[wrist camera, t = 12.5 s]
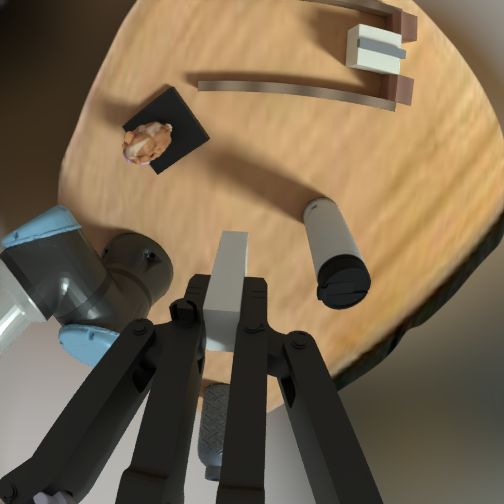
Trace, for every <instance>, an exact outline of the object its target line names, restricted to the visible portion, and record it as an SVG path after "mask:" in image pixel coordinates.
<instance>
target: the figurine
mask: <svg viewBox="0 0 504 504" xmlns="http://www.w3.org/2000/svg"><path fill="white" fill-rule="evenodd" d="M122 127H123V128H124V130H125V131H126V132H127V133H126V134H125V136H124V143H123V145H122V148H123V149H124V150H123V156H124V157H125V159H126V160H127V161H128V162H129V163H131V162H133V163H135V164H140V165H144V164H148V163H149V164H150V165H151V167H152V168H153V169H154V171H155V172H156V173H157V175H158V174H160V173H161V172H163V171H164V170H165V169H167V168H168V167H169V166H171V165H172V164H174V163H175V162H177V161H178V160H180V159H181V158H182V157H184V156H185V155H187V154H188V153H190V152H191V151H193V150H194V149H196V148H197V147H199V146H200V145H202V144H203V143H205V142H206V141H208V140H209V139H210V137H209V136H208V134H207V133H206V132H205V130H204V129H203V127H202V126H201V124H200V123H199V121H198V120H197V119H196V117H195V116H194V114H193V113H192V111H191V110H190V109H189V107H188V106H187V104H186V103H185V102H184V100H183V99H182V97H181V96H180V95H179V93H178V92H177V90H176V89H175V88H174V87H171V88H170V89H168V90H167V91H166V92H164V93H163V94H162V95H160V96H159V97H158V98H156V99H155V100H154V101H153V102H151V103H150V104H149V105H147V106H146V107H145V108H144V109H143V110H141V111H140V112H139V113H138V114H136V115H135V116H134V117H133V118H132V119H131V120H129V121H128V122H127V123H126V124H125V125H124V126H122Z"/></svg>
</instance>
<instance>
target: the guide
mask: <svg viewBox="0 0 504 504" xmlns="http://www.w3.org/2000/svg"><path fill="white" fill-rule="evenodd" d="M301 1H309V2H316V3H322V4H329V5H334V6H339V7H344V8H349V9H354V10H358V11H362V12H366V13H370V14H374V15H378V16H381V17H385V18H386V23H385V30H386V31H389V32H393V33H396V34H399V35H402V37H401V43H407V42H412V41H417V16H414V15H412V14H409V13H406V12H403V11H402V9H400V8H397V7H394V6H391V5H388V4H384V3H381V2H378V1H374V0H301ZM413 84H414V79H411V78H408V77H405V76H401V75H393V74H382V82H381V92H380V98H376V97H372V96H367V95H362V94H357V93H352V92H346V91H340V90H334V89H327V88H320V87H313V86H304V85H295V84H285V83H272V82H254V81H198V91H245V92H266V93H280V94H291V95H301V96H310V97H318V98H325V99H332V100H339V101H345V102H351V103H356V104H361V105H367V106H372V107H376V108H381V109H385V110H390V111H394V112H395V107H396V102H397V103H401V104H405V105H409V106H411V101H412V93H413Z"/></svg>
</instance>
